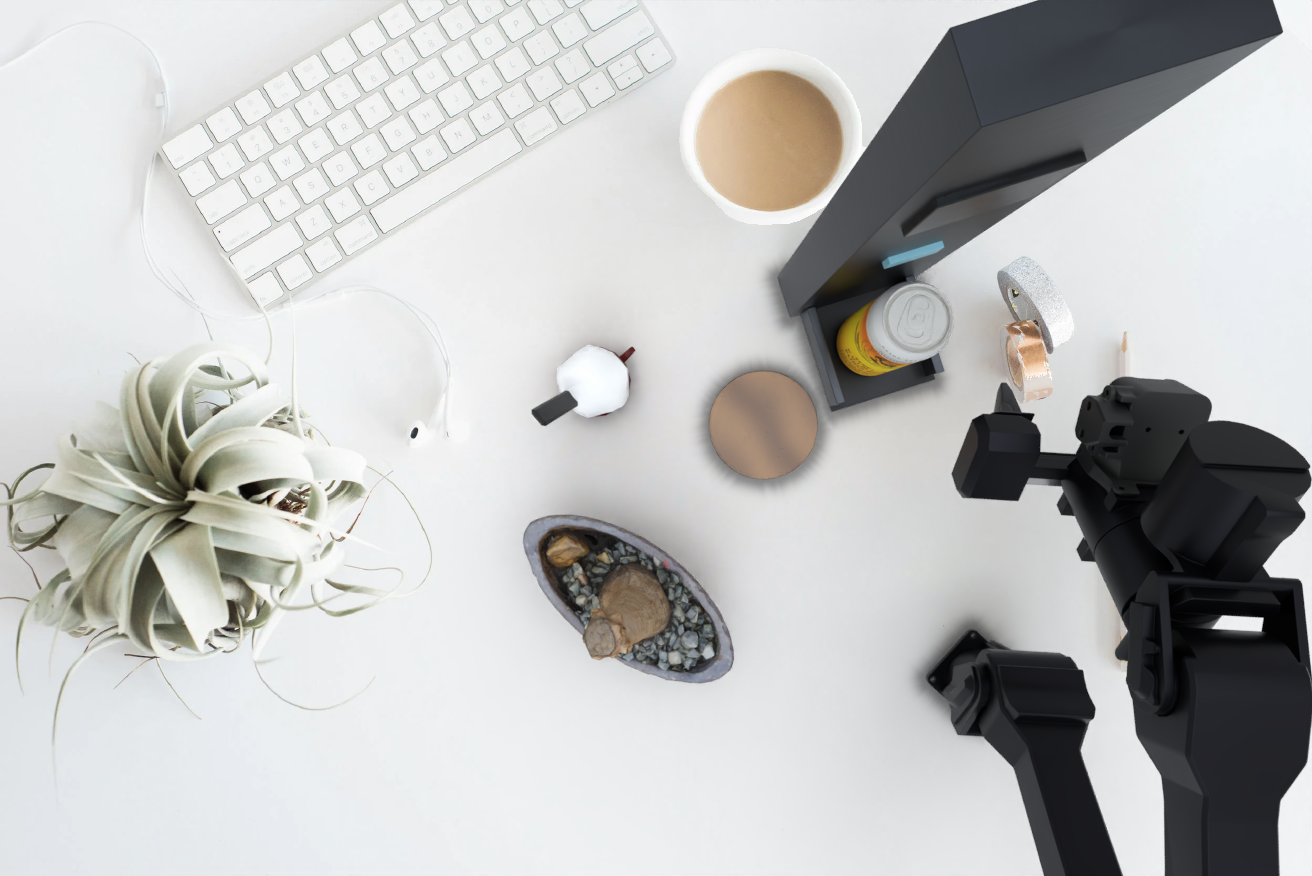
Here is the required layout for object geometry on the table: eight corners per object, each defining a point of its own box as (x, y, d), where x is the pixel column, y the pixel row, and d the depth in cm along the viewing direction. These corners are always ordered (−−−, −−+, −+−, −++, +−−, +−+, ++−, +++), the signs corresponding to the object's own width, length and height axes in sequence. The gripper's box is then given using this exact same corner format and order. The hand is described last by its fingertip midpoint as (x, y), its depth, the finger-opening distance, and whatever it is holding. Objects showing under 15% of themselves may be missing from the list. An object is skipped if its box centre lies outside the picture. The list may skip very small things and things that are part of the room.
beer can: (827, 367, 77) (868, 348, 62) (843, 304, 77) (888, 269, 62) (891, 383, 77) (948, 367, 62) (907, 319, 77) (967, 288, 62)
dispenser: (943, 376, 77) (1362, 271, 31) (820, 415, 77) (1058, 367, 31) (899, 238, 77) (1252, -68, 31) (776, 276, 77) (949, 27, 31)
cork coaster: (766, 501, 77) (766, 501, 77) (686, 428, 77) (687, 428, 77) (838, 421, 77) (839, 421, 77) (759, 349, 77) (760, 348, 77)
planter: (536, 509, 77) (493, 531, 57) (716, 496, 77) (736, 514, 57) (548, 669, 77) (509, 747, 57) (728, 656, 77) (752, 730, 57)
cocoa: (631, 338, 77) (625, 318, 65) (652, 402, 77) (651, 393, 65) (534, 371, 77) (511, 357, 65) (556, 434, 77) (537, 432, 65)
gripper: (1375, 459, 46) (1239, 307, 58) (1037, 438, 46) (970, 290, 58) (1268, 587, 53) (1167, 429, 65) (977, 568, 53) (928, 414, 65)
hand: (1062, 390), depth 63 cm, fingers open, 9 cm apart
